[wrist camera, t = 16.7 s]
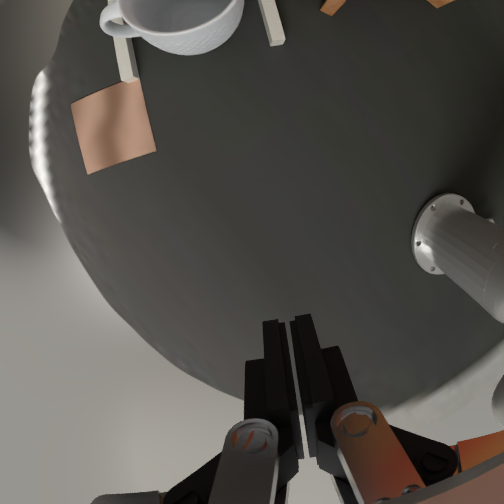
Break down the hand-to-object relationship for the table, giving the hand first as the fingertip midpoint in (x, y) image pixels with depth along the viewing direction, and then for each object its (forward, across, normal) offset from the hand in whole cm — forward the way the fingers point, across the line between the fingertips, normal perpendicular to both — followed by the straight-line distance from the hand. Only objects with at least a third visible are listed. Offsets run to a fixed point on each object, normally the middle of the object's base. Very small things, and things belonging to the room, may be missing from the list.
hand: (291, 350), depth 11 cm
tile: (+28, +17, -13) cm, 35 cm away
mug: (+29, +5, -22) cm, 37 cm away
